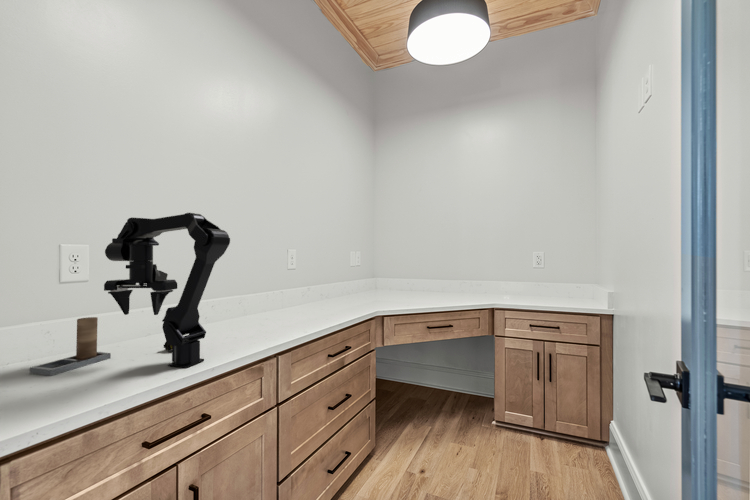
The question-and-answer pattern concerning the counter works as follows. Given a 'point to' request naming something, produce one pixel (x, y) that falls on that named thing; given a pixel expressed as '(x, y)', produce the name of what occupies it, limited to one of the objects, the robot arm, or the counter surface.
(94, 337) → the post
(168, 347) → the tape measure
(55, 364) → the grey divided tray
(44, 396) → the counter surface
